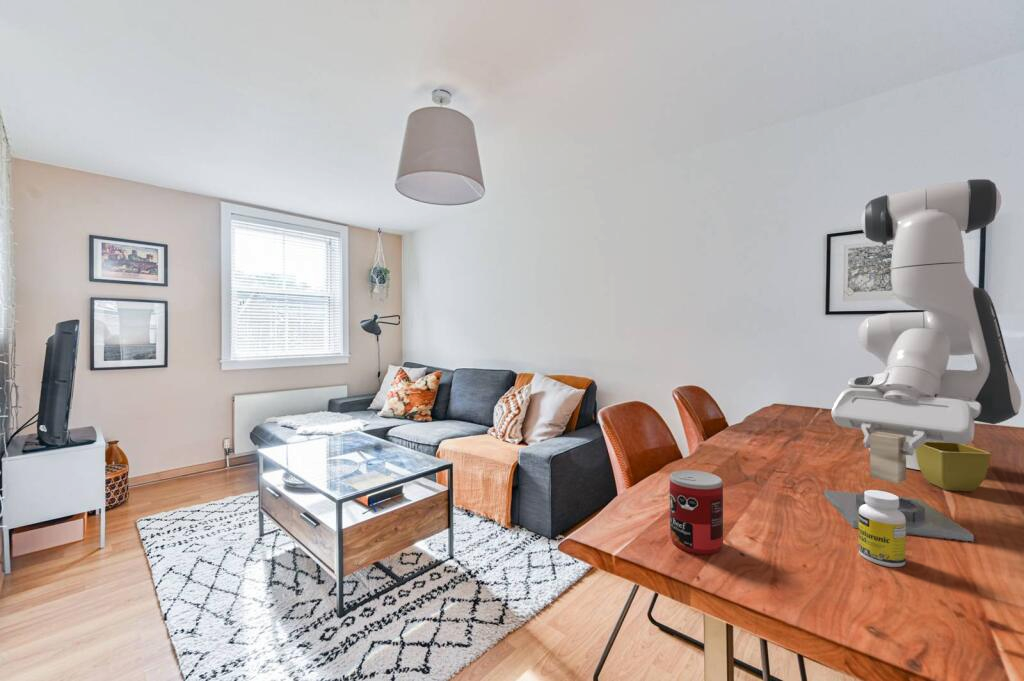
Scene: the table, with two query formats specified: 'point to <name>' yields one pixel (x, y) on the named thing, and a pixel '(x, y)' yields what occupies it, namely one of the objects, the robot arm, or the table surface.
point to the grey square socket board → (916, 513)
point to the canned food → (696, 511)
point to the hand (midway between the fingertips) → (886, 449)
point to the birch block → (887, 457)
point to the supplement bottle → (882, 529)
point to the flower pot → (953, 465)
